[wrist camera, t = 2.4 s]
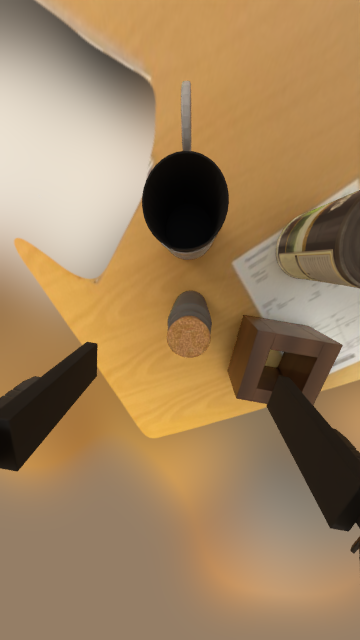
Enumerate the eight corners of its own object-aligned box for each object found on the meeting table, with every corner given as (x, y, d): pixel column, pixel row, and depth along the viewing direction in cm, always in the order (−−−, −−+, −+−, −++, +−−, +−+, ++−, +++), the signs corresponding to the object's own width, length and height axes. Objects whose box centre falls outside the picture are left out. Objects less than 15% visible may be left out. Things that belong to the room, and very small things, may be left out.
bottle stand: (308, 326, 33) (342, 345, 26) (286, 381, 37) (310, 411, 30) (243, 314, 34) (258, 330, 26) (227, 370, 37) (236, 398, 30)
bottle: (172, 318, 35) (158, 358, 20) (177, 288, 33) (165, 308, 19) (203, 323, 35) (210, 366, 20) (209, 292, 33) (221, 317, 19)
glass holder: (163, 259, 32) (138, 257, 17) (159, 160, 27) (124, 48, 13) (213, 259, 31) (232, 257, 17) (219, 157, 27) (249, 37, 12)
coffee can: (272, 220, 29) (342, 185, 15) (343, 203, 27) (488, 146, 14) (277, 285, 32) (339, 302, 18) (341, 272, 30) (459, 280, 17)
